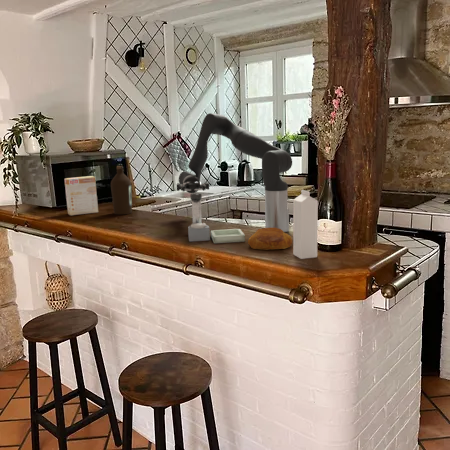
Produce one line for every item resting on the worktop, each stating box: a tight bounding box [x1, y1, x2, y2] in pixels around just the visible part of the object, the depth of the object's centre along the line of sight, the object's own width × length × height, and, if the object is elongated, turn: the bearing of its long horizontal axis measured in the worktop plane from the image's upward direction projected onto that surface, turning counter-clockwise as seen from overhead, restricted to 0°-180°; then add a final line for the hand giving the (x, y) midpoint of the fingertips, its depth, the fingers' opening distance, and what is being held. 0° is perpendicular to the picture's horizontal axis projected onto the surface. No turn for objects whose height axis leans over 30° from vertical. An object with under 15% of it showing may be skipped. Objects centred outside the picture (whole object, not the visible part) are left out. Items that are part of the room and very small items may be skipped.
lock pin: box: [189, 192, 203, 224], centre depth 189 cm, size 5×5×17 cm
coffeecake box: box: [64, 175, 99, 216], centre depth 251 cm, size 15×7×20 cm, turn 121°
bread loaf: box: [247, 227, 293, 251], centre depth 170 cm, size 15×16×8 cm
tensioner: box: [187, 222, 211, 242], centre depth 187 cm, size 8×14×6 cm, turn 8°
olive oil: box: [110, 165, 133, 216], centre depth 246 cm, size 11×11×25 cm
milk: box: [292, 189, 319, 260], centre depth 154 cm, size 6×6×22 cm
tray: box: [209, 228, 246, 244], centre depth 183 cm, size 12×12×2 cm
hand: (193, 188), depth 198 cm, fingers open, 8 cm apart
